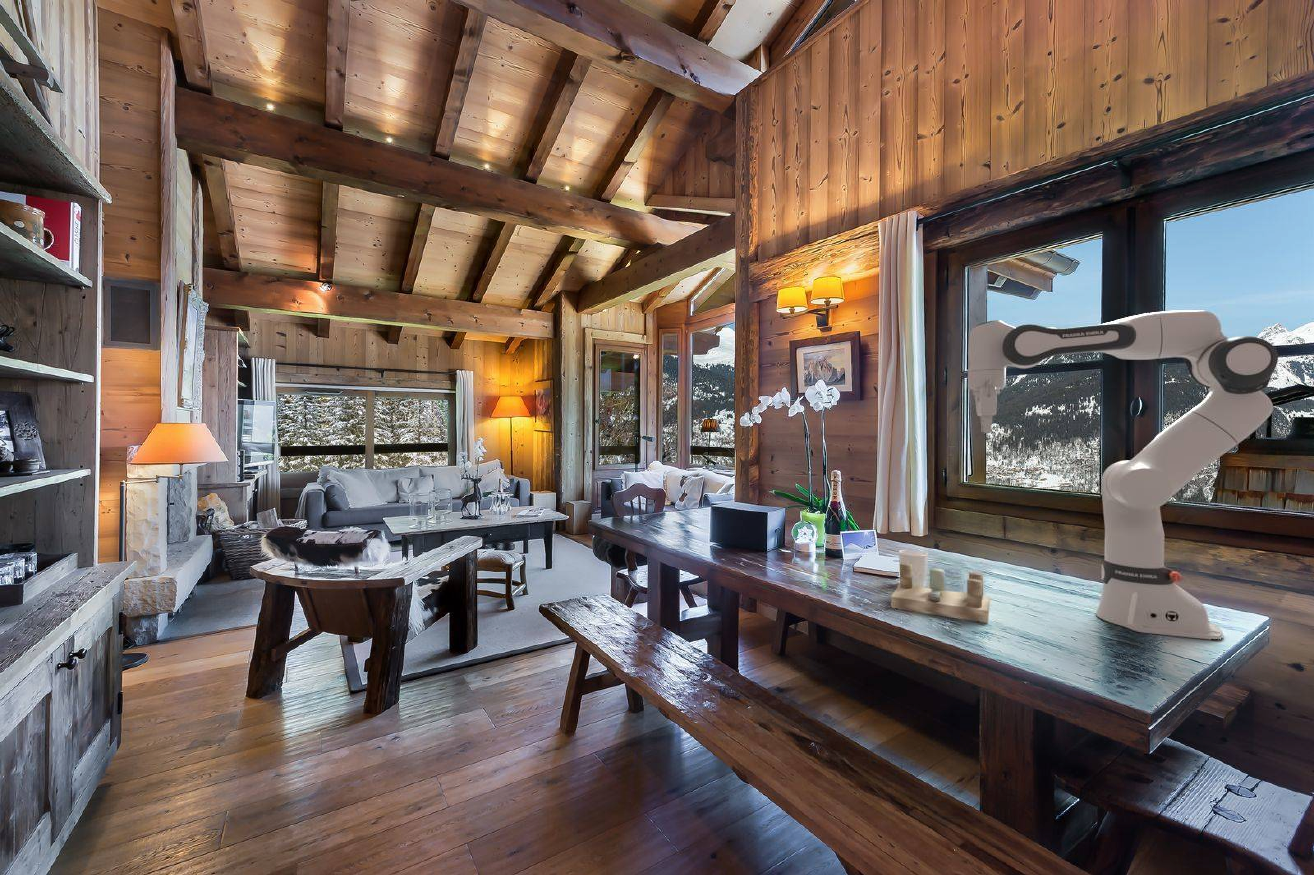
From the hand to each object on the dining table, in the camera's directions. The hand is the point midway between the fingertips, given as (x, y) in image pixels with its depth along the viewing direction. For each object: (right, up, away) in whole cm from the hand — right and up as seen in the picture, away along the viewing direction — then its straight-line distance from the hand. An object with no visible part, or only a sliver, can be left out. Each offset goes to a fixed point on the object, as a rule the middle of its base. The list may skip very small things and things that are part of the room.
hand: (986, 432), depth 151 cm
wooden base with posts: (-15, -46, -5) cm, 49 cm away
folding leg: (-16, -43, -5) cm, 46 cm away
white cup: (-13, -46, +16) cm, 50 cm away
